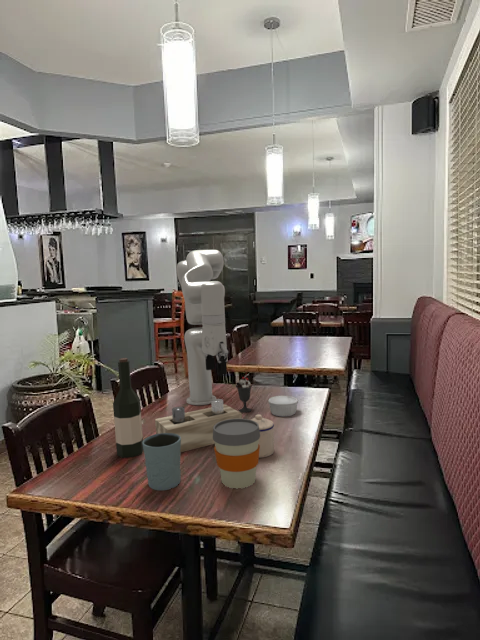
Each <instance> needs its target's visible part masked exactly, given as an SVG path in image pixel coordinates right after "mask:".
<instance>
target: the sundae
mask: <svg viewBox="0 0 480 640" xmlns="http://www.w3.org/2000/svg"><path fill="white" fill-rule="evenodd" d="M252 387H253V384H251V381H249V378H248V372H245V375H244V376H242V377H241V378H240V379H239V380H238V381H237V382H236V385H235V388H236V389H237V393H238V398H239V400H240V401H241V402H242V404H243V407H242V408H240V409H238V412H240V413H242V414H243V413H250V412H251V411H252V409H251V408H249V407H248V406H247V402H248V401H249V400H250V398H251V391H252V390H251V389H252Z"/></svg>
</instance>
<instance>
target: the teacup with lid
mask: <svg viewBox="0 0 480 640" xmlns="http://www.w3.org/2000/svg"><path fill="white" fill-rule="evenodd" d="M254 416H255V417H253V418H251V419H250V420H253V421H255V422H257V423H258V424H259V430H260V438H259V443H258V444H259V445H260V450H259V458H266V457H269V456H271V455H273V454H274V452H275V439H274V427H275V424H274V422H273V421H272V420H271V419H268V418H265V417H263V416H262V414H259V413H258V414H256V415H254Z"/></svg>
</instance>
